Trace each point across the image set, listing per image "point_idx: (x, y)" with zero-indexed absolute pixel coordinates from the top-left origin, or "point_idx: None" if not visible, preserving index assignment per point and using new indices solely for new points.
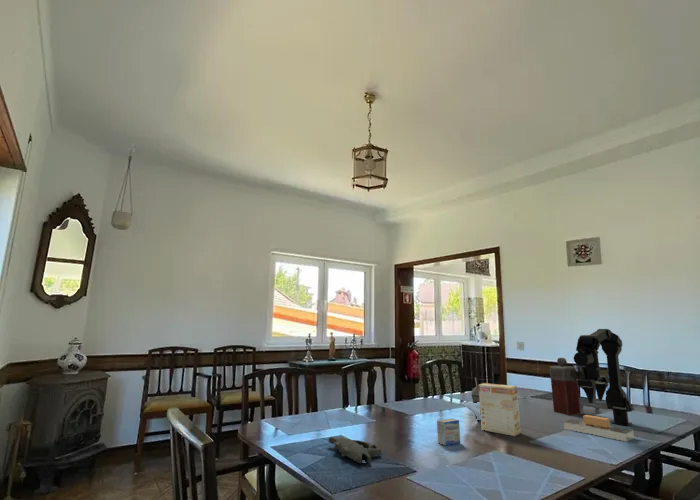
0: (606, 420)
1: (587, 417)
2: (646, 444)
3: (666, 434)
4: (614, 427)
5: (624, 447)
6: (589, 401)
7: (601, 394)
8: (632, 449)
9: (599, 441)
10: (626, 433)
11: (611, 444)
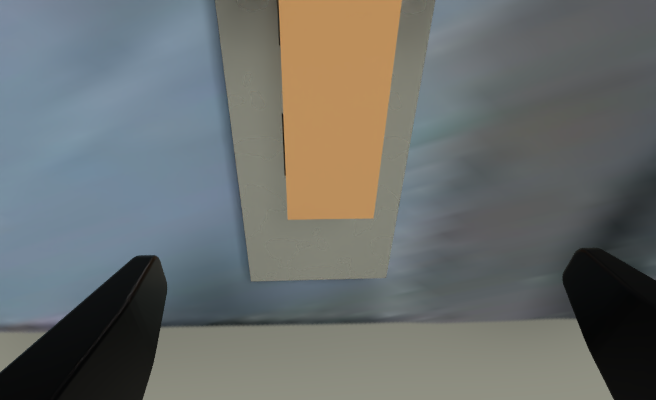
0: (300, 214)
1: (281, 26)
2: (292, 302)
3: None
4: (384, 190)
5: None
6: (116, 281)
7: (634, 396)
8: None
9: (96, 153)
10: (265, 280)
11: (110, 218)
